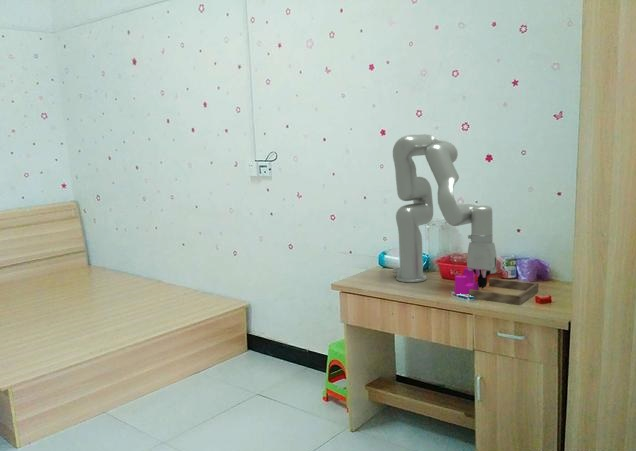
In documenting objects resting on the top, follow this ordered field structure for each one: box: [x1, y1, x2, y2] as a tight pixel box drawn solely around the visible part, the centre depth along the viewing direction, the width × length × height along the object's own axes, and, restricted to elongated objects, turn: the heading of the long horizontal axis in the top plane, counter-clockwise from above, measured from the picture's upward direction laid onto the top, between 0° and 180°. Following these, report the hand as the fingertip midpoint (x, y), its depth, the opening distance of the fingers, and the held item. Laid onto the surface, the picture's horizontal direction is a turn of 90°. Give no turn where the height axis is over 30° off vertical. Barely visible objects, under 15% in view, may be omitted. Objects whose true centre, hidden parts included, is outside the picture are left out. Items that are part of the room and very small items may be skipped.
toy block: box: [454, 267, 480, 295], centre depth 212 cm, size 15×6×8 cm, turn 151°
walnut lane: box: [469, 277, 539, 306], centre depth 205 cm, size 18×20×3 cm
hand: (482, 286), depth 210 cm, fingers closed
